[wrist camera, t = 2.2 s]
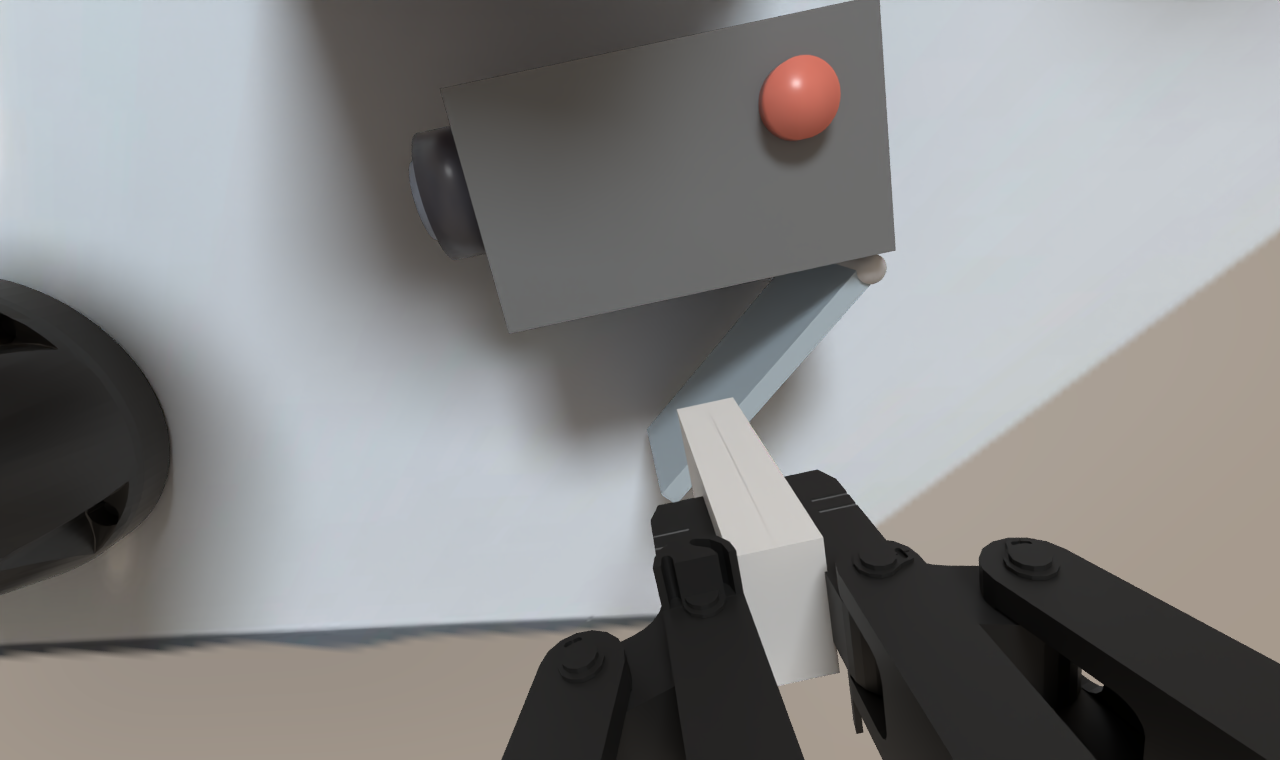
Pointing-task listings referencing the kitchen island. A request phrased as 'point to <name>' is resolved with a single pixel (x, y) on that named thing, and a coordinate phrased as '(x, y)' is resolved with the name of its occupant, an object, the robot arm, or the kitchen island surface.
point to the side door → (761, 353)
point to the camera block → (666, 166)
